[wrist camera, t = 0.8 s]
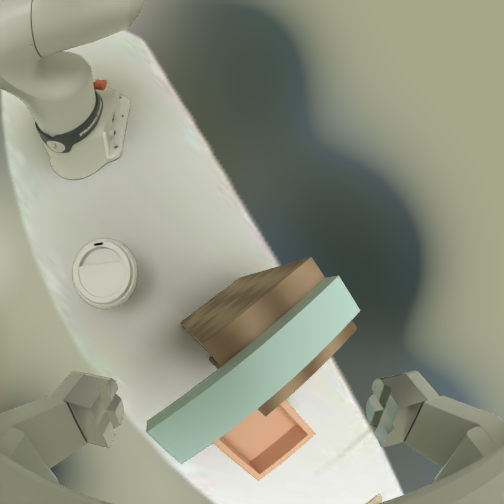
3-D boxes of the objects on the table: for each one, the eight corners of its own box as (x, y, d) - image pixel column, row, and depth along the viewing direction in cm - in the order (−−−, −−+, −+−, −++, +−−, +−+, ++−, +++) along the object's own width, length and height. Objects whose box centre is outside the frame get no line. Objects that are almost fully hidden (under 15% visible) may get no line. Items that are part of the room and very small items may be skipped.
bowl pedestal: (193, 402, 46) (208, 438, 32) (242, 364, 51) (274, 386, 36) (231, 441, 47) (258, 480, 32) (276, 405, 51) (315, 433, 37)
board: (178, 451, 21) (181, 463, 19) (146, 421, 21) (146, 432, 19) (345, 310, 30) (360, 310, 27) (324, 278, 29) (338, 275, 27)
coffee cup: (148, 261, 48) (144, 245, 34) (136, 313, 46) (127, 318, 32) (100, 247, 46) (79, 226, 32) (87, 298, 44) (61, 297, 30)
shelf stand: (213, 364, 49) (265, 416, 25) (180, 322, 48) (202, 344, 24) (270, 319, 54) (357, 328, 30) (240, 277, 53) (311, 256, 29)
